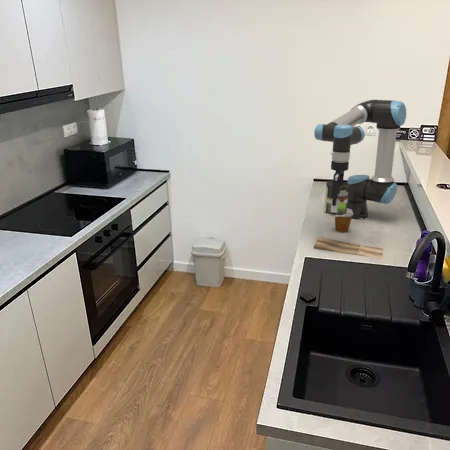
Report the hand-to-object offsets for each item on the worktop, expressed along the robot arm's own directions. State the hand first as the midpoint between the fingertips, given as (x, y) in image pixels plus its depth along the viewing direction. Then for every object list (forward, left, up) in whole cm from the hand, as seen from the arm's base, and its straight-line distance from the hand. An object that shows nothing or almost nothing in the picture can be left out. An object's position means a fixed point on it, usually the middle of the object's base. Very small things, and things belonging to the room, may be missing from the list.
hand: (335, 208), depth 197 cm
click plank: (0, +2, -19) cm, 19 cm away
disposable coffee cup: (-23, +1, -20) cm, 30 cm away
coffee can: (0, 0, -3) cm, 3 cm away
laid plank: (0, +18, -20) cm, 27 cm away
